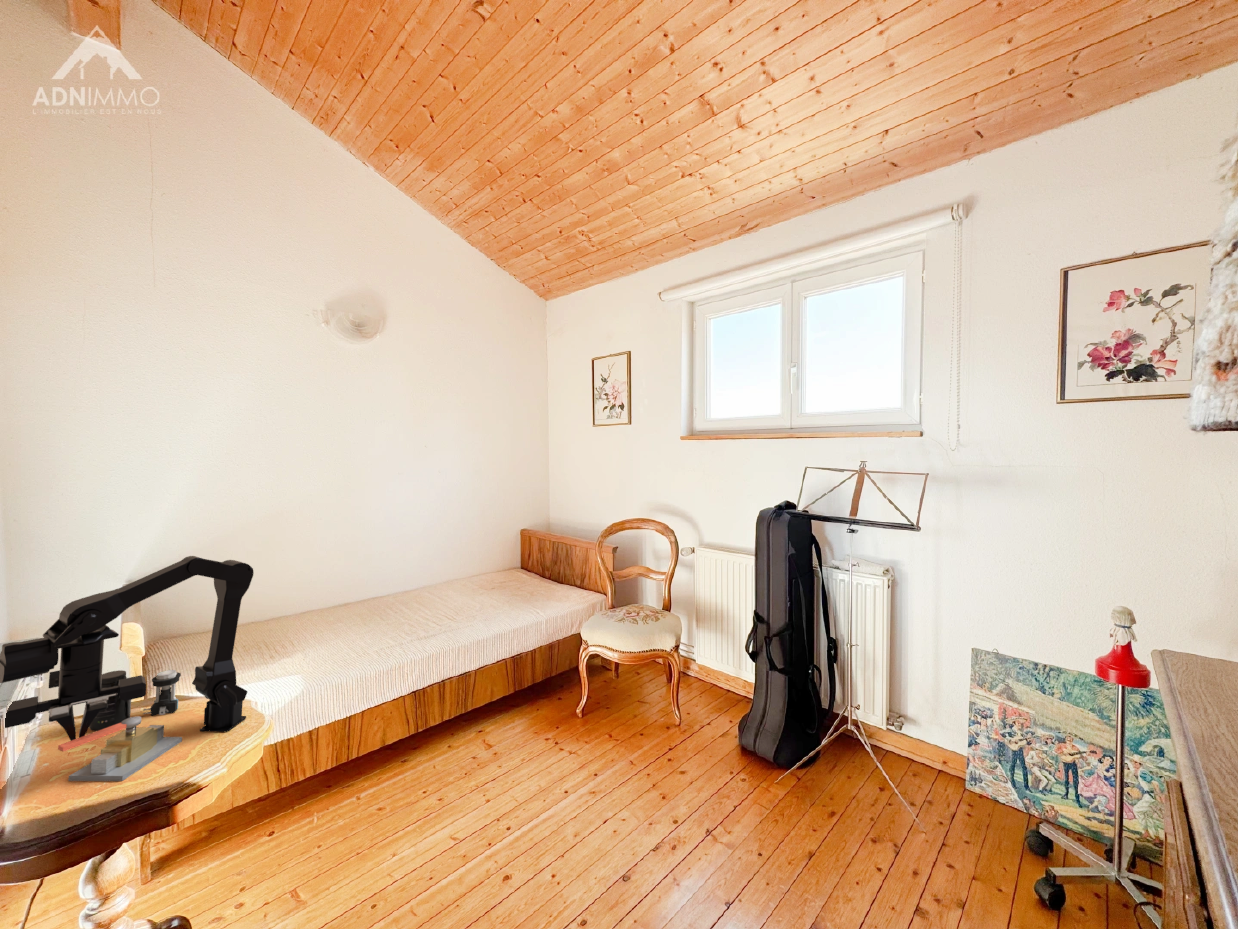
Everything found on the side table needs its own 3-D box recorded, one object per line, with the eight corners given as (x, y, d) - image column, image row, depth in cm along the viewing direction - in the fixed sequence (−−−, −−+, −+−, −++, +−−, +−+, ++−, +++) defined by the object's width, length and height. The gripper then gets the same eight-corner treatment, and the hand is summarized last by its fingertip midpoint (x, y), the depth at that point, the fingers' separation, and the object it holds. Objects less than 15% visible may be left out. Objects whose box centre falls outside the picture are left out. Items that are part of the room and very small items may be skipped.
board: (181, 741, 109) (182, 737, 109) (122, 781, 95) (122, 776, 95) (135, 741, 109) (135, 736, 109) (68, 781, 95) (68, 776, 95)
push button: (138, 720, 117) (141, 679, 117) (147, 710, 122) (149, 671, 122) (174, 715, 120) (176, 675, 120) (181, 705, 125) (184, 667, 125)
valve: (168, 740, 109) (170, 711, 109) (111, 777, 96) (113, 744, 96) (145, 740, 108) (146, 711, 108) (84, 777, 95) (86, 744, 95)
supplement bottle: (98, 720, 116) (101, 670, 117) (135, 715, 119) (138, 666, 119) (81, 734, 110) (84, 682, 110) (121, 729, 113) (124, 678, 113)
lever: (136, 720, 104) (136, 715, 104) (144, 723, 103) (144, 718, 103) (56, 749, 93) (56, 744, 93) (64, 753, 92) (65, 747, 92)
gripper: (144, 641, 108) (140, 709, 108) (10, 663, 94) (6, 742, 94) (148, 657, 101) (143, 731, 101) (4, 684, 87) (-1, 769, 87)
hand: (77, 741), depth 96 cm, fingers closed
